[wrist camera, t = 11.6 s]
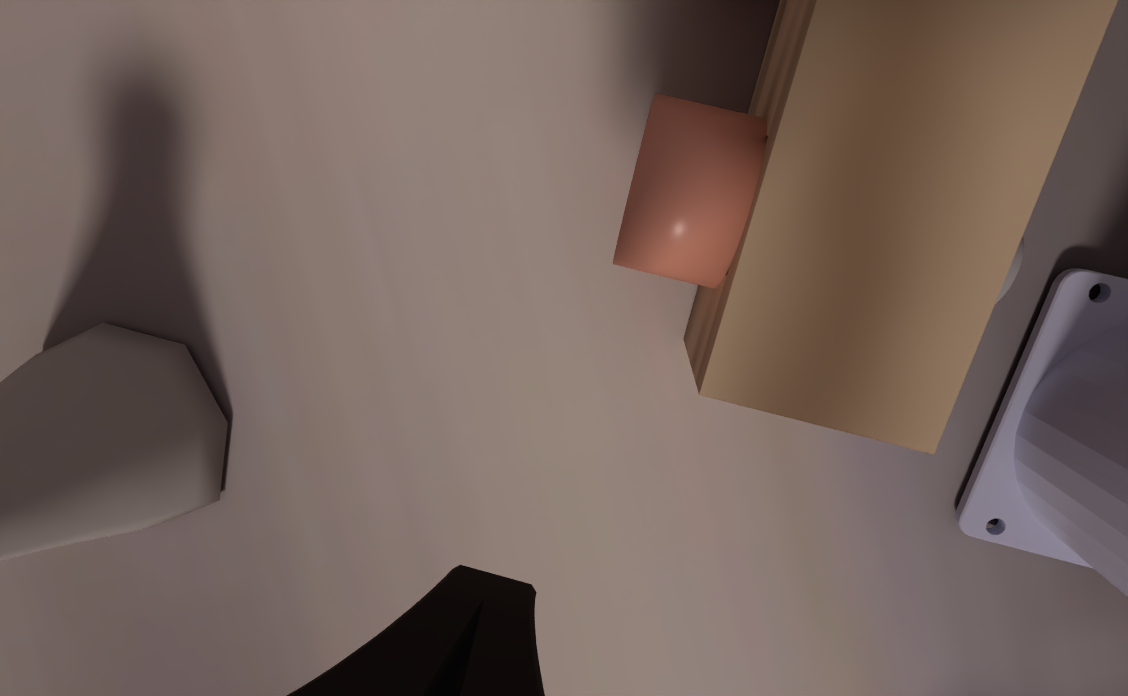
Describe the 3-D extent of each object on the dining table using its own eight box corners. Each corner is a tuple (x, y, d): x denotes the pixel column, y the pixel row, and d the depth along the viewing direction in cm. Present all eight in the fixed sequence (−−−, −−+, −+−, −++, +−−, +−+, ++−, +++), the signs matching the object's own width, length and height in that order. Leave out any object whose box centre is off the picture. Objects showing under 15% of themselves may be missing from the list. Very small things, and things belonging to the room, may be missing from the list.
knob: (983, 180, 16) (1088, 176, 13) (925, 331, 17) (1006, 370, 14) (653, 105, 17) (656, 79, 13) (616, 255, 18) (609, 273, 14)
